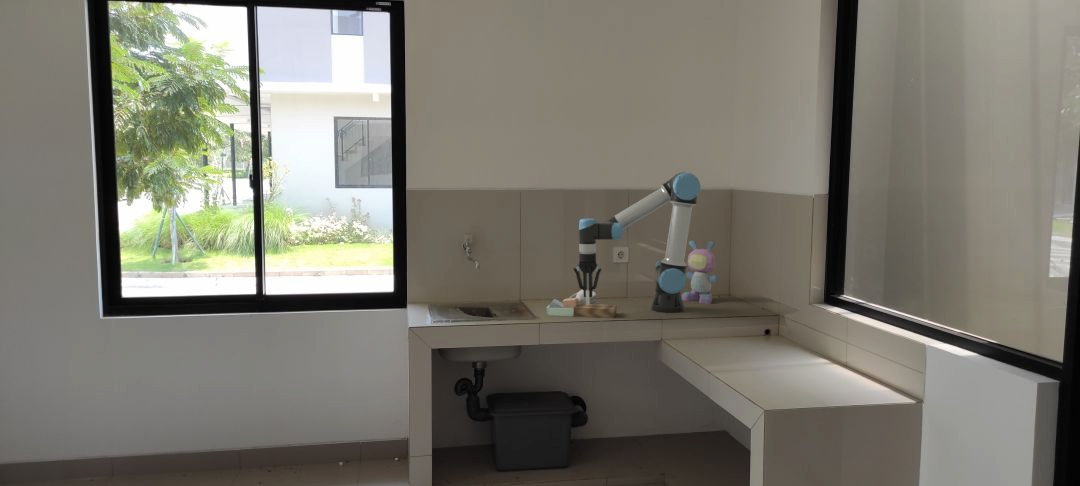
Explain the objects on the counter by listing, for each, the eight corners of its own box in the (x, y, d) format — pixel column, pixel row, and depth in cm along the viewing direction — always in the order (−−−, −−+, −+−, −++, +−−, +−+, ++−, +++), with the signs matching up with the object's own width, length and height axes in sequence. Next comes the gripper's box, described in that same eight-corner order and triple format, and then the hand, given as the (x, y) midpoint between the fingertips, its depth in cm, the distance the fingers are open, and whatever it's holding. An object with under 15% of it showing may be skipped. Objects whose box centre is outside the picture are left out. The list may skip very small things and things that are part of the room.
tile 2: (578, 303, 361) (577, 297, 361) (576, 306, 356) (575, 299, 355) (565, 305, 363) (565, 298, 363) (563, 307, 357) (562, 301, 357)
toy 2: (678, 299, 395) (679, 240, 391) (691, 296, 402) (692, 238, 399) (708, 304, 381) (710, 243, 378) (721, 301, 389) (723, 241, 386)
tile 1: (554, 298, 363) (551, 303, 364) (552, 300, 358) (548, 306, 358) (565, 305, 363) (562, 310, 363) (563, 307, 357) (560, 313, 357)
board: (616, 313, 360) (616, 304, 359) (613, 317, 350) (613, 309, 350) (577, 311, 364) (577, 303, 363) (573, 316, 354) (573, 307, 354)
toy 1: (575, 312, 384) (572, 311, 369) (569, 296, 385) (566, 294, 370) (600, 303, 382) (598, 302, 368) (594, 286, 384) (592, 284, 369)
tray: (578, 311, 365) (578, 303, 365) (573, 316, 353) (573, 309, 352) (552, 310, 368) (552, 302, 368) (545, 315, 356) (545, 307, 355)
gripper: (603, 252, 357) (603, 303, 359) (575, 251, 360) (575, 302, 362) (600, 254, 350) (600, 306, 352) (571, 253, 353) (572, 305, 355)
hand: (588, 304), depth 357 cm, fingers closed
